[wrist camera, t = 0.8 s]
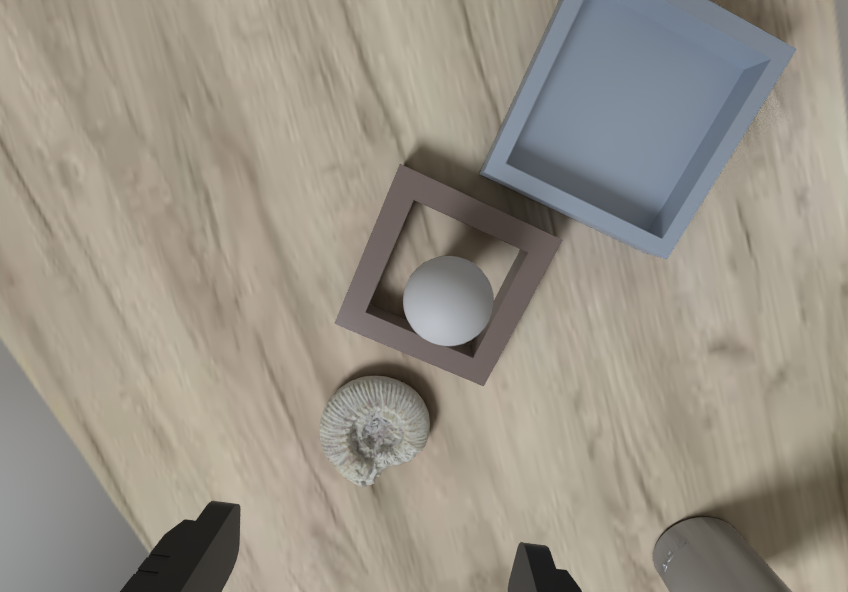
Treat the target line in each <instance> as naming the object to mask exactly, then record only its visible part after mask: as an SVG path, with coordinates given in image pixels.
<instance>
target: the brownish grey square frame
mask: <svg viewBox="0 0 848 592" xmlns="http://www.w3.org/2000/svg"><path fill="white" fill-rule="evenodd" d="M414 200H415V201H417V202H419V203H422V204H424V205H426V206H428V207H430V208H432V209H435V210H437V211H439V212H441V213H443V214H445V215H448V216H450V217H452V218H454V219H456V220H459V221H461V222H463V223H465V224H467V225H469V226H472V227H474V228H476V229H478V230H480V231H482V232H485V233H487V234H489V235H491V236H493V237H495V238H498V239H500V240H502V241H504V242H506V243H508V244H511V245H513V246H515V247H517V248H519V249H520V251H519V253H518V255H517V257H516V259H515V261H514V263H513V265H512V267H511V269H510V271H509V273H508V275H507V277H506V279H505V281H504V282H503V284H502V286H501V288H500V290H499V292H498V294H497V296H496V298H495V300H494V303H493V310H492V314H491V317H490V320H489V322H488V323H487V325H486V327H485V328H484V329H483V330H482V331H481V332H480V333H479V335H477V336H476V337H475V339H474V341H473V343H472V345H471V347H469V346H466V345H464V344H460V345H456V346H442V345H437V344H434V343H431V342H429V341H427V340H425V339H423V338H422V337H421V336H420V335H418V334H417V333H416V332H415V331H414V329H413V328H412V327H411V325H410V323H409V322H408V320H406V319H403V318H401V317H399V316H396V315H394V314H392V313H389V312H387V311H385V310H382V309H380V308H378V307H375V306H373V305H371V304H370V302H371V300H372V298H373V295H374V293H375V291H376V288H377V286H378V284H379V281H380V279H381V277H382V274H383V272H384V270H385V267H386V265H387V263H388V260H389V258H390V256H391V253H392V251H393V249H394V246H395V244H396V242H397V239H398V237H399V235H400V232H401V230H402V228H403V225H404V223H405V221H406V218H407V216H408V214H409V211H410V209H411V207H412V204H413V202H414ZM561 242H562V239H559V238H557V237H555V236H553V235H551V234H549V233H547V232H545V231H542V230H540V229H538V228H536V227H534V226H532V225H530V224H527V223H525V222H523V221H521V220H519V219H517V218H515V217H512V216H510V215H508V214H506V213H504V212H502V211H500V210H498V209H495V208H493V207H491V206H489V205H487V204H485V203H483V202H480V201H478V200H476V199H474V198H472V197H470V196H468V195H466V194H463V193H461V192H459V191H457V190H455V189H453V188H451V187H448V186H446V185H444V184H442V183H440V182H438V181H436V180H433V179H431V178H429V177H427V176H425V175H423V174H421V173H419V172H416V171H414V170H412V169H410V168H408V167H406V166H404V165H401V164H400V165H399V168H398V170H397V172H396V175H395V177H394V180H393V182H392V185H391V187H390V189H389V192H388V194H387V197H386V199H385V202H384V204H383V207H382V209H381V211H380V214H379V216H378V219H377V221H376V224H375V226H374V228H373V231H372V233H371V236H370V238H369V241H368V243H367V246H366V248H365V250H364V253H363V255H362V258H361V260H360V263H359V265H358V268H357V270H356V272H355V275H354V277H353V280H352V282H351V285H350V287H349V289H348V292H347V294H346V297H345V299H344V302H343V304H342V307H341V309H340V311H339V314H338V316H337V319H336V321H335V324H337V325H339V326H341V327H344V328H346V329H348V330H351V331H353V332H356V333H358V334H360V335H363V336H365V337H368V338H370V339H372V340H375V341H377V342H379V343H382V344H384V345H387V346H389V347H391V348H394V349H396V350H398V351H401V352H403V353H406V354H408V355H410V356H413V357H415V358H418V359H420V360H422V361H425V362H427V363H429V364H432V365H434V366H437V367H439V368H441V369H444V370H446V371H449V372H451V373H453V374H456V375H458V376H460V377H463V378H465V379H468V380H470V381H472V382H475V383H477V384H480V385H482V386H484V385H485V383H486V381H487V379H488V377H489V376H490V374H491V372H492V370H493V368H494V366H495V364H496V363H497V361H498V359H499V357H500V355H501V353H502V351H503V350H504V348H505V346H506V344H507V342H508V340H509V338H510V337H511V335H512V333H513V331H514V329H515V327H516V326H517V324H518V322H519V320H520V318H521V316H522V314H523V313H524V311H525V309H526V307H527V305H528V303H529V301H530V300H531V298H532V296H533V294H534V292H535V290H536V288H537V287H538V285H539V283H540V281H541V279H542V277H543V275H544V274H545V272H546V270H547V268H548V266H549V264H550V262H551V261H552V259H553V257H554V255H555V253H556V251H557V250H558V248H559V246H560V244H561Z"/></svg>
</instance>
